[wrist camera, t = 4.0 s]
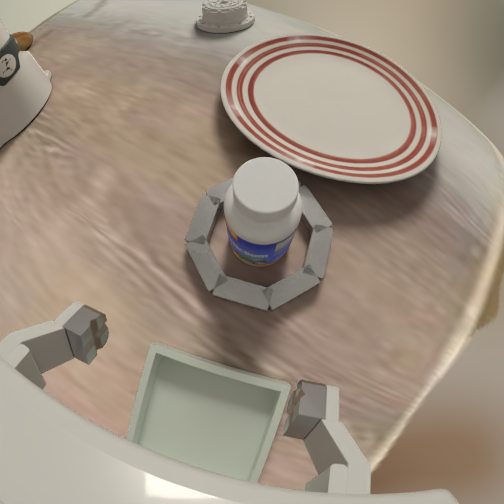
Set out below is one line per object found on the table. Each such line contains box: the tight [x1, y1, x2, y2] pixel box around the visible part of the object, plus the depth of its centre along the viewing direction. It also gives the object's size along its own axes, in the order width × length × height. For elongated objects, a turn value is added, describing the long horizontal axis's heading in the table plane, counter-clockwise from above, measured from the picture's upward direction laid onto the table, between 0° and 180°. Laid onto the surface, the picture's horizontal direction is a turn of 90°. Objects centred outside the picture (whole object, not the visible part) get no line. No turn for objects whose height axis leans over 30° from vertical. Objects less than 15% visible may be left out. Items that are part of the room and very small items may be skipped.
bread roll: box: [12, 32, 33, 51], centre depth 37 cm, size 10×15×8 cm, turn 145°
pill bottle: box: [224, 157, 302, 266], centre depth 22 cm, size 5×5×10 cm
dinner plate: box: [220, 33, 442, 184], centre depth 30 cm, size 27×27×3 cm
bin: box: [126, 343, 291, 483], centre depth 20 cm, size 11×11×2 cm
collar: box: [185, 177, 334, 312], centre depth 26 cm, size 12×12×1 cm
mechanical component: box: [196, 0, 255, 33], centre depth 36 cm, size 10×4×10 cm
